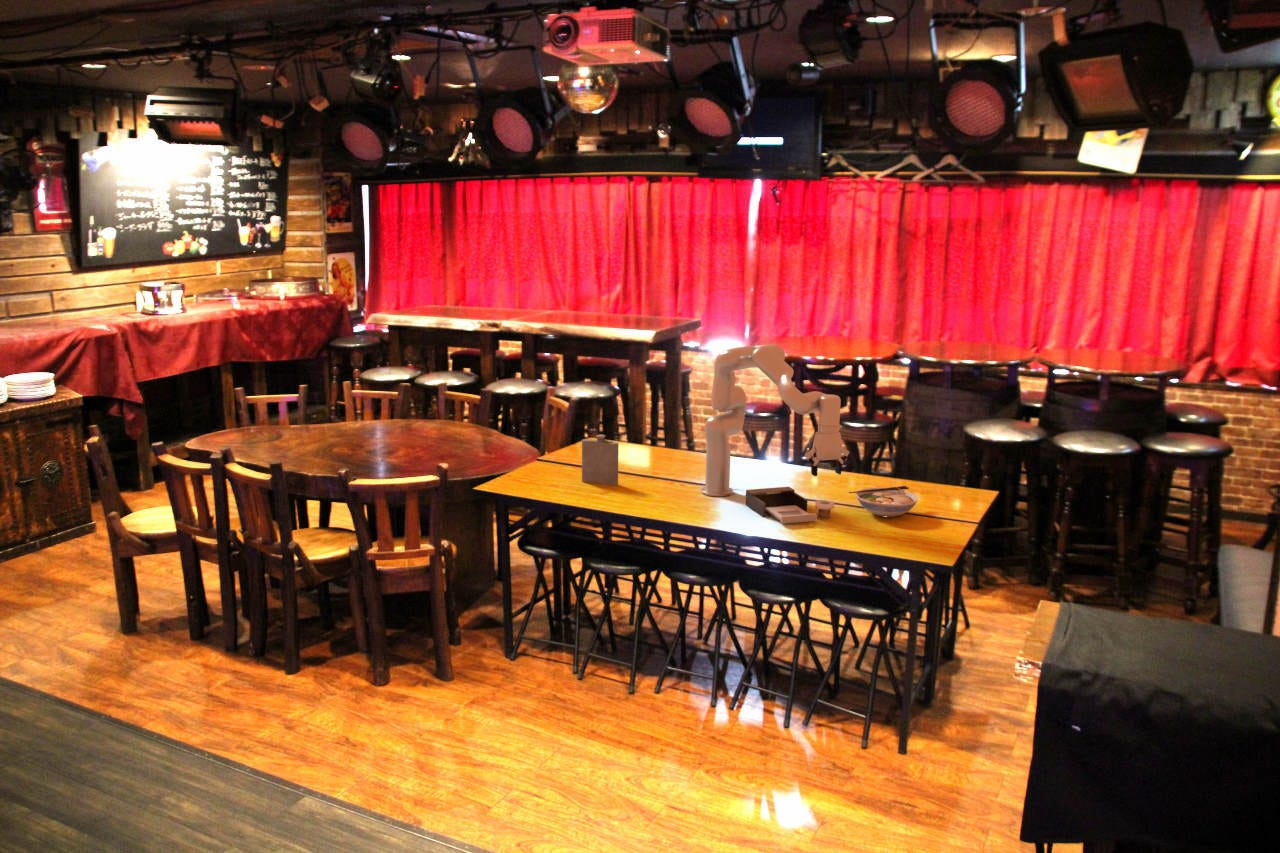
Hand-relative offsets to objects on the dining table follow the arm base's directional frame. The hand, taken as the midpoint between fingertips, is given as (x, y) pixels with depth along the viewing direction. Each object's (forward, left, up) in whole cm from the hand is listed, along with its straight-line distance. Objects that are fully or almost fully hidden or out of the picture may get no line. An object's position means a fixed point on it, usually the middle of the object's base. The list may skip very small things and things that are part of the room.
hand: (826, 474), depth 383 cm
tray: (-2, -13, -15) cm, 20 cm away
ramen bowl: (+3, +24, -17) cm, 30 cm away
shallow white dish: (0, 0, -13) cm, 13 cm away
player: (-14, -13, -17) cm, 25 cm away
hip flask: (-67, -67, -17) cm, 96 cm away
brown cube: (0, 0, -17) cm, 17 cm away
